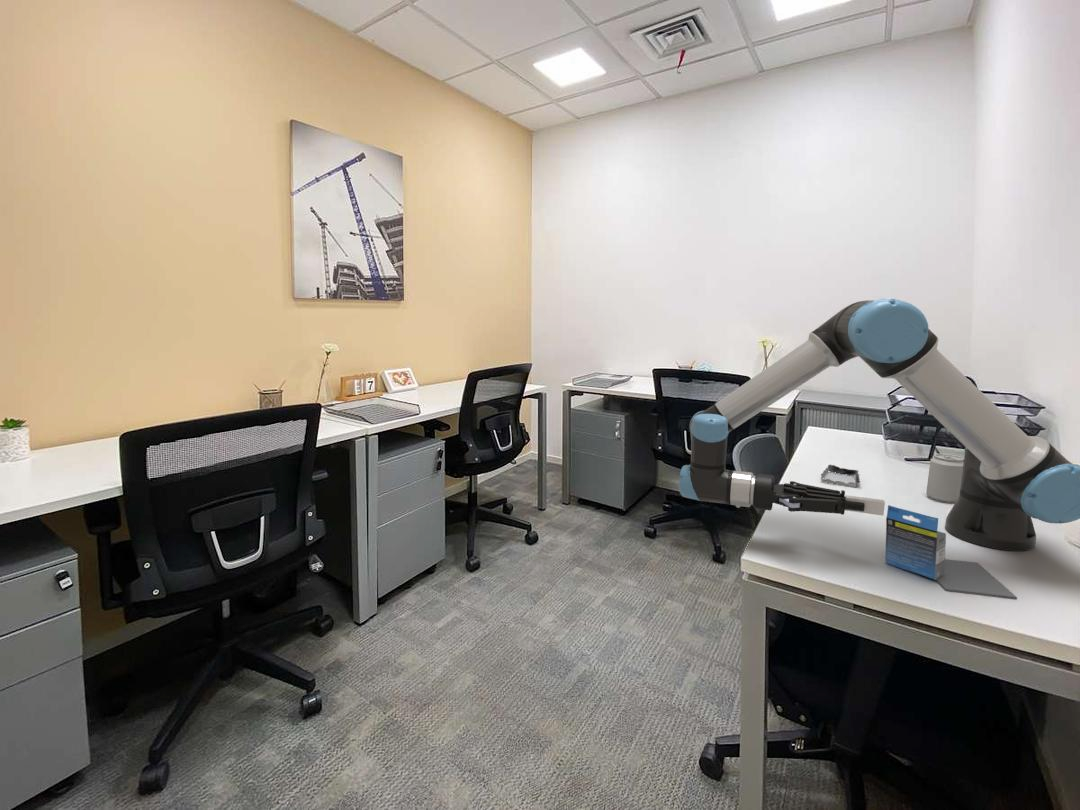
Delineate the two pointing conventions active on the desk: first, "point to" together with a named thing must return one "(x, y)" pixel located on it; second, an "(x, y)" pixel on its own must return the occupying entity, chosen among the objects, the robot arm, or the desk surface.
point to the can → (945, 478)
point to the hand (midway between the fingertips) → (883, 507)
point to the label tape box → (914, 543)
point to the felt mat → (971, 580)
